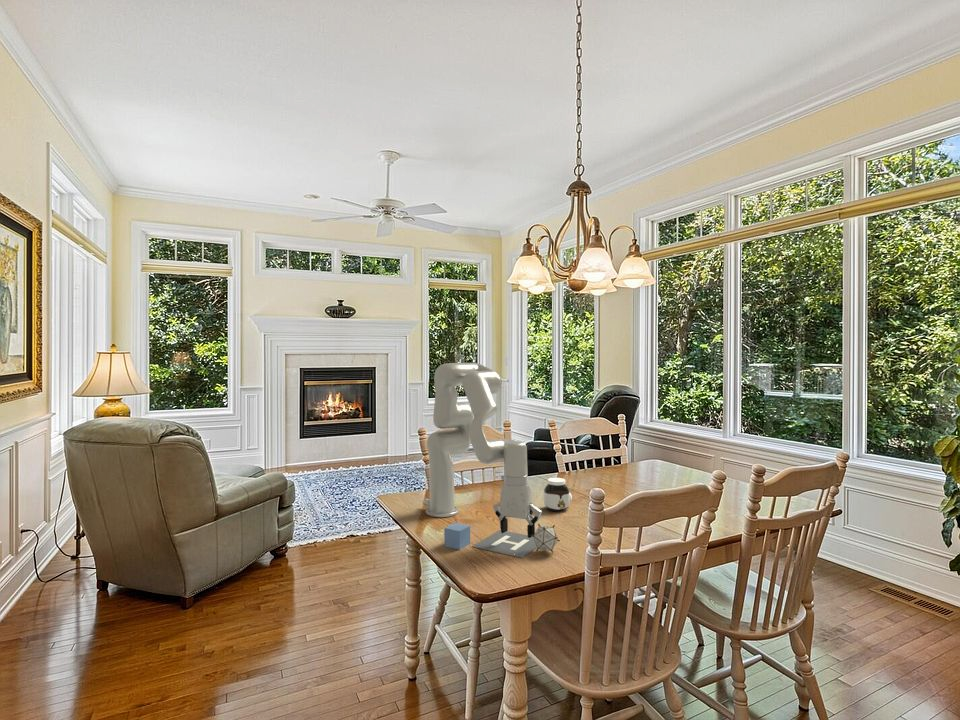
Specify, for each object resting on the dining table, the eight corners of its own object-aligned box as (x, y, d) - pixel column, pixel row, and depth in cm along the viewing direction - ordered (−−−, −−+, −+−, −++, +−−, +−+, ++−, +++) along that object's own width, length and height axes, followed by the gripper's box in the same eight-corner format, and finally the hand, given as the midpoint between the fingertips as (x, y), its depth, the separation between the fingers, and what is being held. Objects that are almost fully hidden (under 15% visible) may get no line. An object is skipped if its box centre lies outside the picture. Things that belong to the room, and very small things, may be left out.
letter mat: (472, 546, 169) (472, 545, 169) (499, 530, 184) (499, 529, 184) (522, 558, 160) (522, 557, 160) (547, 539, 175) (547, 539, 175)
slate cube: (444, 546, 170) (444, 527, 170) (455, 540, 175) (454, 522, 175) (459, 550, 167) (459, 531, 167) (470, 544, 172) (470, 525, 172)
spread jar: (545, 512, 205) (545, 482, 205) (541, 503, 216) (541, 475, 216) (576, 512, 205) (576, 482, 205) (570, 503, 216) (570, 475, 216)
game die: (528, 554, 166) (524, 531, 161) (540, 534, 172) (537, 512, 167) (554, 564, 162) (551, 541, 157) (565, 544, 167) (563, 521, 163)
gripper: (486, 480, 171) (488, 533, 171) (534, 485, 161) (536, 542, 161) (498, 476, 177) (500, 527, 177) (545, 480, 168) (547, 535, 168)
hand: (517, 534), depth 169 cm, fingers open, 9 cm apart
